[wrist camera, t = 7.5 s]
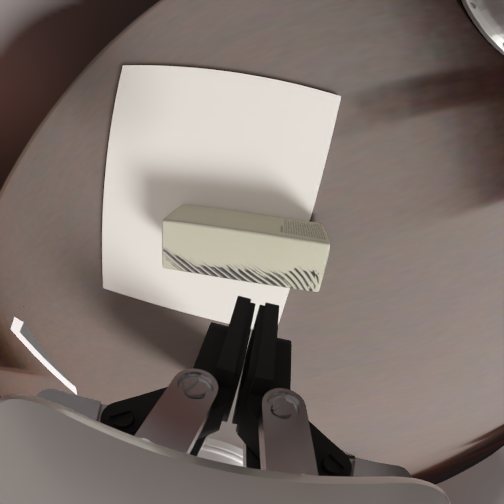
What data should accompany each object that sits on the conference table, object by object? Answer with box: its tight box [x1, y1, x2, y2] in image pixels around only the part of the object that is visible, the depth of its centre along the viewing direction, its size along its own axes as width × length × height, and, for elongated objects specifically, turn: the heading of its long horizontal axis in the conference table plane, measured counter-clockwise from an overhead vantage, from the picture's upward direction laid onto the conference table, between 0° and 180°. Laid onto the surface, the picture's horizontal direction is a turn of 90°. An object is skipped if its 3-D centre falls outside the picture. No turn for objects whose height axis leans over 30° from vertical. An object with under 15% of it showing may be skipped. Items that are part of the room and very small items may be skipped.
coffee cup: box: [199, 360, 245, 467], centre depth 27 cm, size 10×10×15 cm
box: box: [162, 204, 330, 292], centre depth 24 cm, size 5×4×13 cm
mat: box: [102, 65, 341, 329], centre depth 26 cm, size 24×20×1 cm
